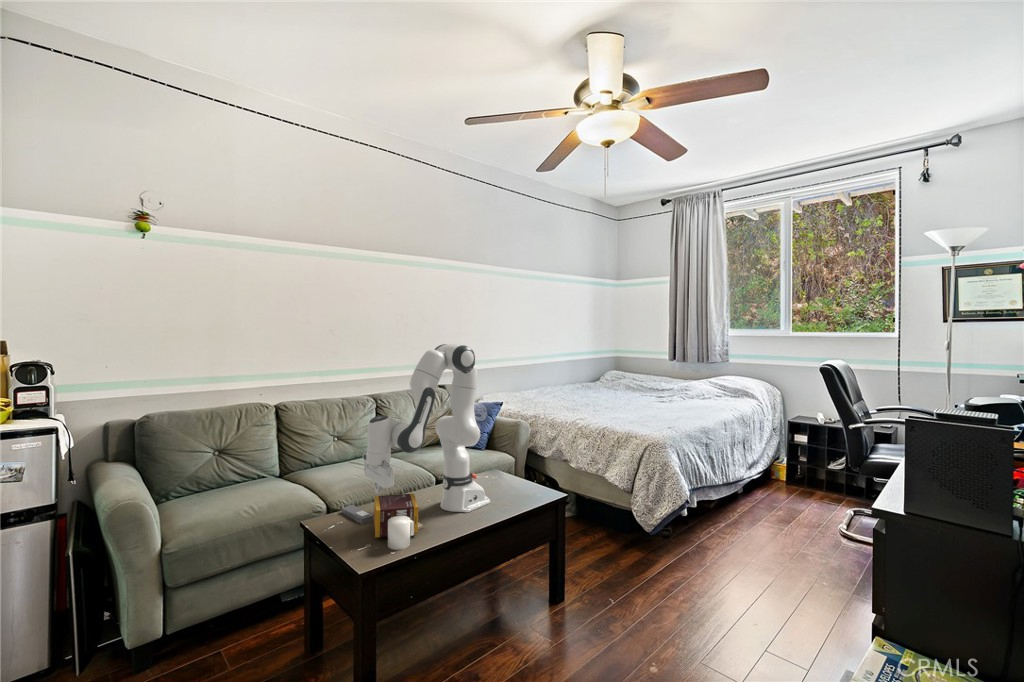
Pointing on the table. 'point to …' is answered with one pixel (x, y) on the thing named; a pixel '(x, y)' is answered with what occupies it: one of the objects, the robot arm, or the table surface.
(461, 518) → the table surface
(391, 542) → the white mug
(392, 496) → the supplement box
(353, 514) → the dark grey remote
